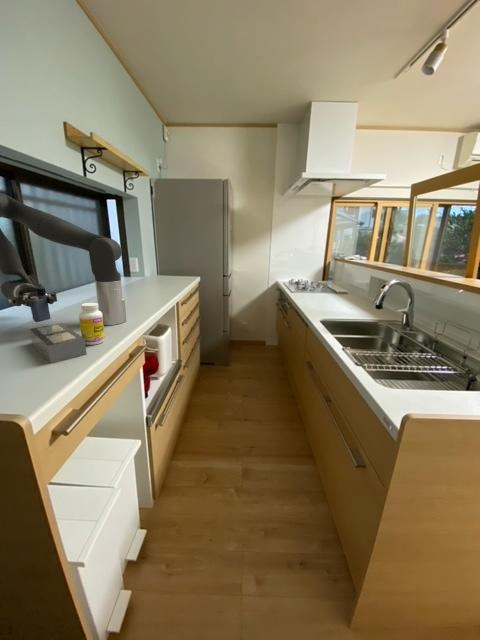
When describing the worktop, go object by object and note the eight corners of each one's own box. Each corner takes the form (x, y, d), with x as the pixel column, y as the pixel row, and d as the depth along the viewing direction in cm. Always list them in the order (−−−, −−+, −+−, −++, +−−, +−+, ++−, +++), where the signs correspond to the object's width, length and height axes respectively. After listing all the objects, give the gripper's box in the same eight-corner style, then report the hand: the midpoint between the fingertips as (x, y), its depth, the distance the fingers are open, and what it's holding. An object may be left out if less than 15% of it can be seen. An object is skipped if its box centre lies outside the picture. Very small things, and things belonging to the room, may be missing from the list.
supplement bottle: (95, 346, 85) (91, 307, 82) (77, 344, 87) (72, 305, 83) (109, 339, 92) (105, 302, 88) (92, 337, 93) (88, 301, 89)
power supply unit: (64, 337, 92) (61, 322, 91) (86, 354, 80) (84, 337, 78) (31, 343, 86) (29, 328, 84) (50, 363, 73) (47, 345, 72)
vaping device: (52, 318, 92) (46, 283, 89) (37, 322, 88) (30, 286, 84) (47, 317, 93) (40, 283, 90) (31, 321, 88) (24, 285, 85)
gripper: (0, 286, 91) (10, 293, 81) (49, 282, 102) (64, 288, 91) (5, 307, 94) (15, 317, 83) (53, 301, 104) (68, 309, 93)
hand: (41, 302), depth 87 cm, fingers closed on vaping device, 5 cm apart
